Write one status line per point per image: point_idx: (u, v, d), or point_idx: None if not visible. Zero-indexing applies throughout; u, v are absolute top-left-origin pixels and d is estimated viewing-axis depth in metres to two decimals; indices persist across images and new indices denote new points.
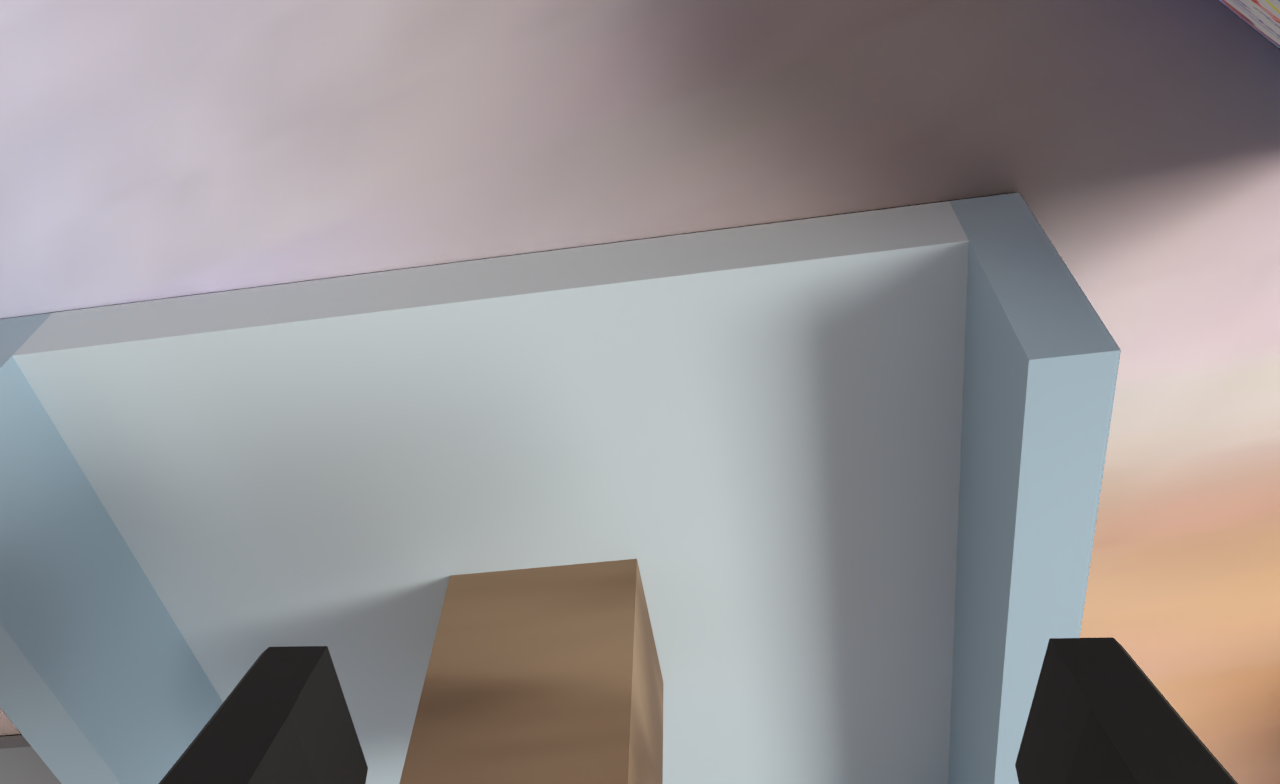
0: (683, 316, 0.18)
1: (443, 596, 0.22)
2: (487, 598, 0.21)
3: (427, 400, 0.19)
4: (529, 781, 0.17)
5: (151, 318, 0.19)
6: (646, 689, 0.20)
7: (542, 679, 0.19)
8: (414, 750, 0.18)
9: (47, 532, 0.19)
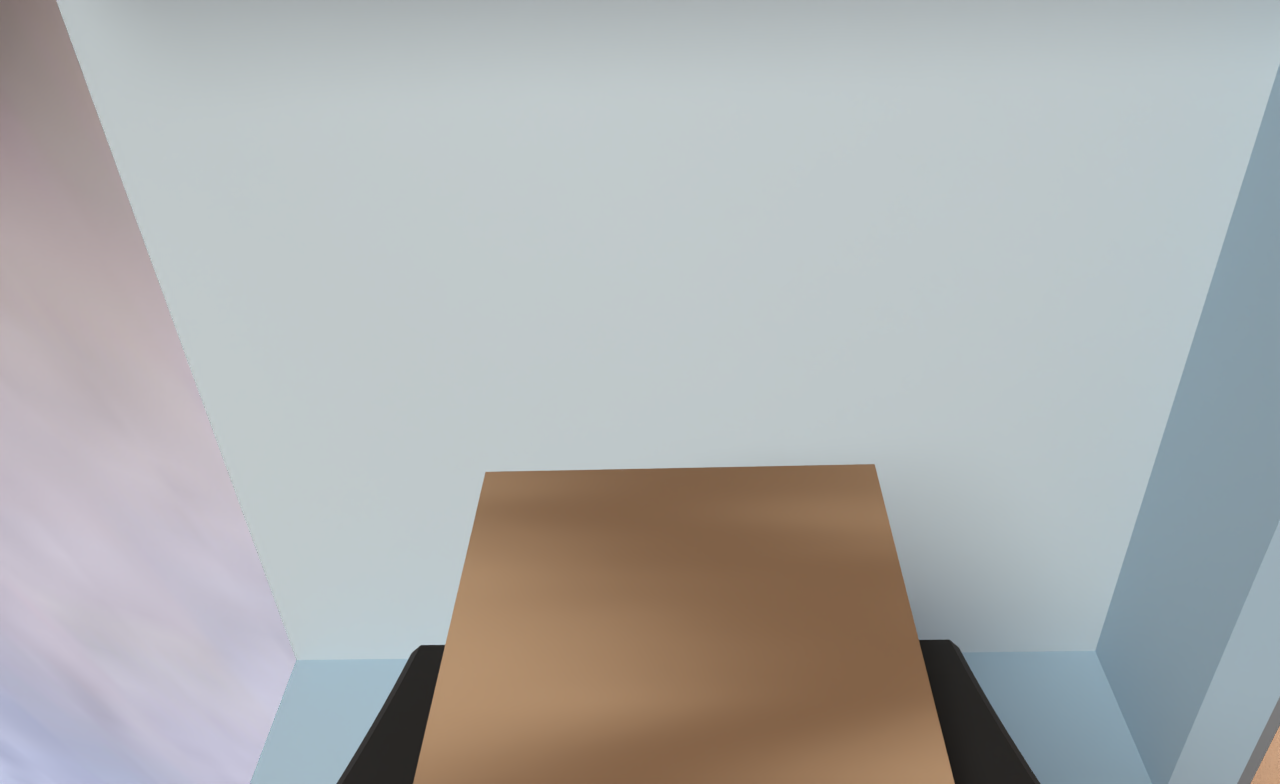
0: (153, 112, 0.15)
1: (602, 426, 0.18)
2: None
3: (308, 383, 0.18)
4: None
5: None
6: (637, 619, 0.09)
7: None
8: None
9: None
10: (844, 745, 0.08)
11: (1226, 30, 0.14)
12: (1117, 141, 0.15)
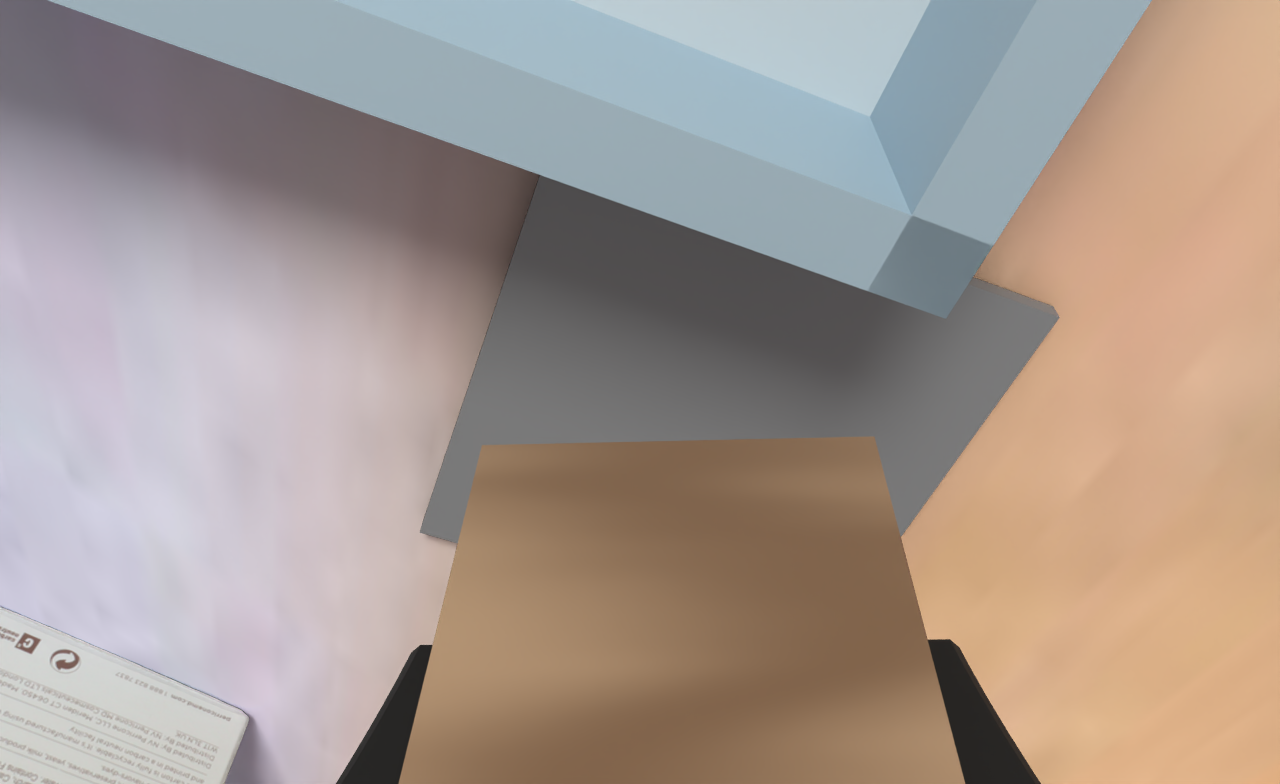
0: None
1: None
2: None
3: None
4: None
5: None
6: (634, 587, 0.09)
7: None
8: None
9: None
10: (843, 709, 0.08)
11: None
12: None
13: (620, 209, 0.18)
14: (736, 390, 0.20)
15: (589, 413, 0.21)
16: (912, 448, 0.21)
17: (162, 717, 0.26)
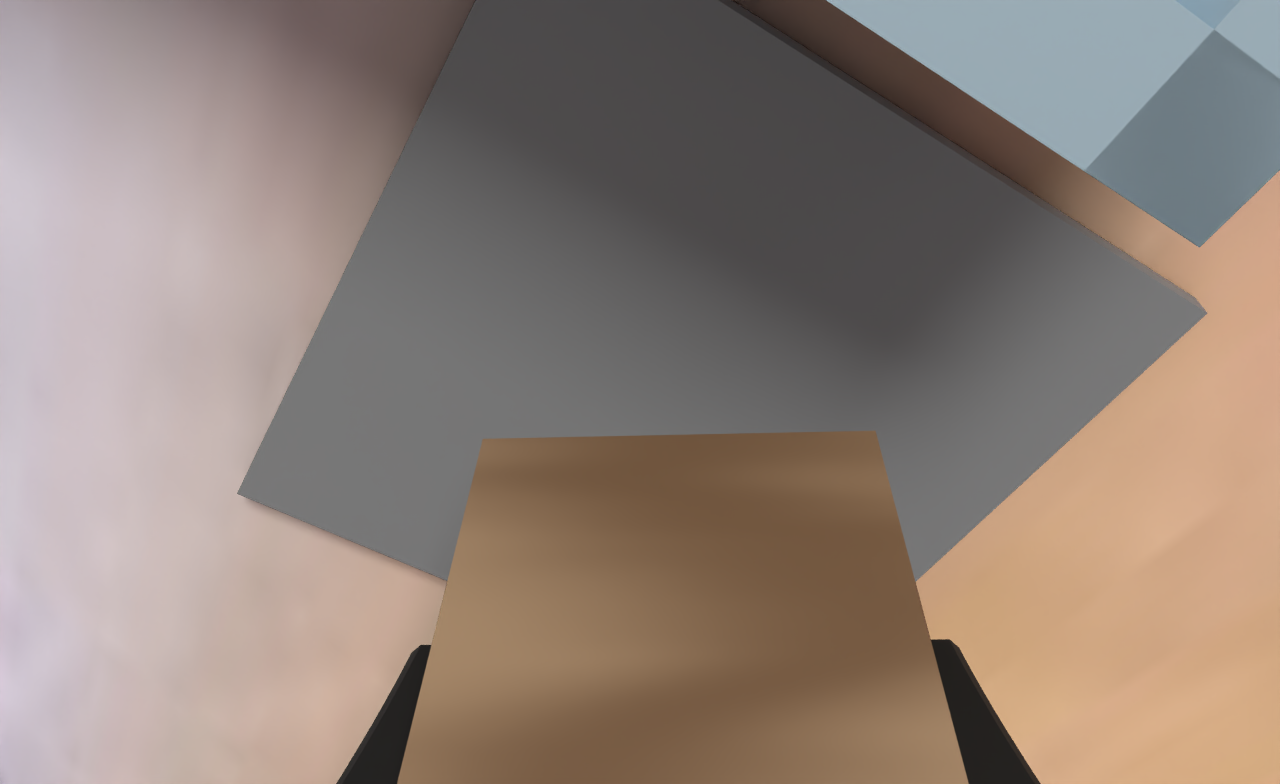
0: None
1: None
2: None
3: None
4: None
5: None
6: (635, 580, 0.09)
7: None
8: None
9: None
10: (845, 701, 0.08)
11: None
12: None
13: (615, 35, 0.12)
14: (732, 350, 0.14)
15: (512, 354, 0.14)
16: (955, 471, 0.15)
17: None
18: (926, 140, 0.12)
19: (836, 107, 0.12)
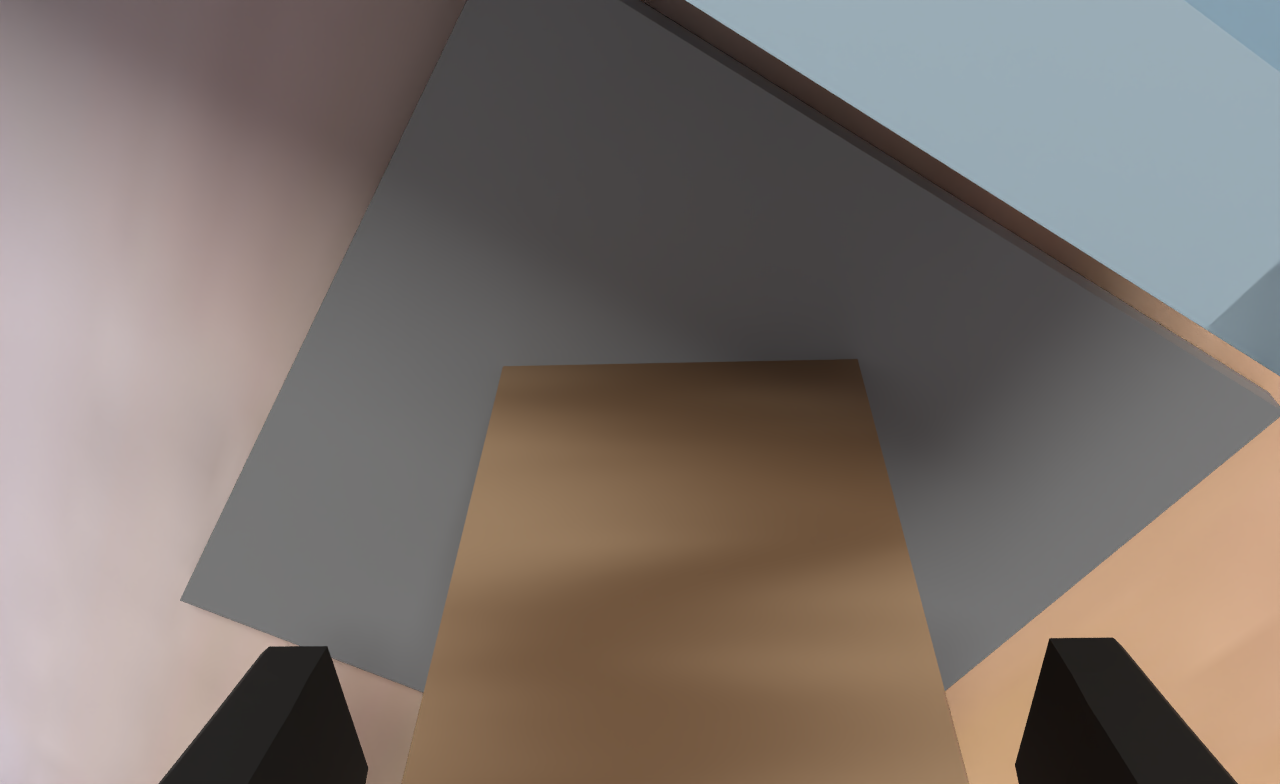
0: None
1: None
2: None
3: None
4: None
5: None
6: (641, 480, 0.10)
7: None
8: None
9: None
10: (826, 574, 0.09)
11: None
12: None
13: (602, 103, 0.10)
14: None
15: None
16: (990, 579, 0.13)
17: None
18: (966, 223, 0.10)
19: (861, 186, 0.10)
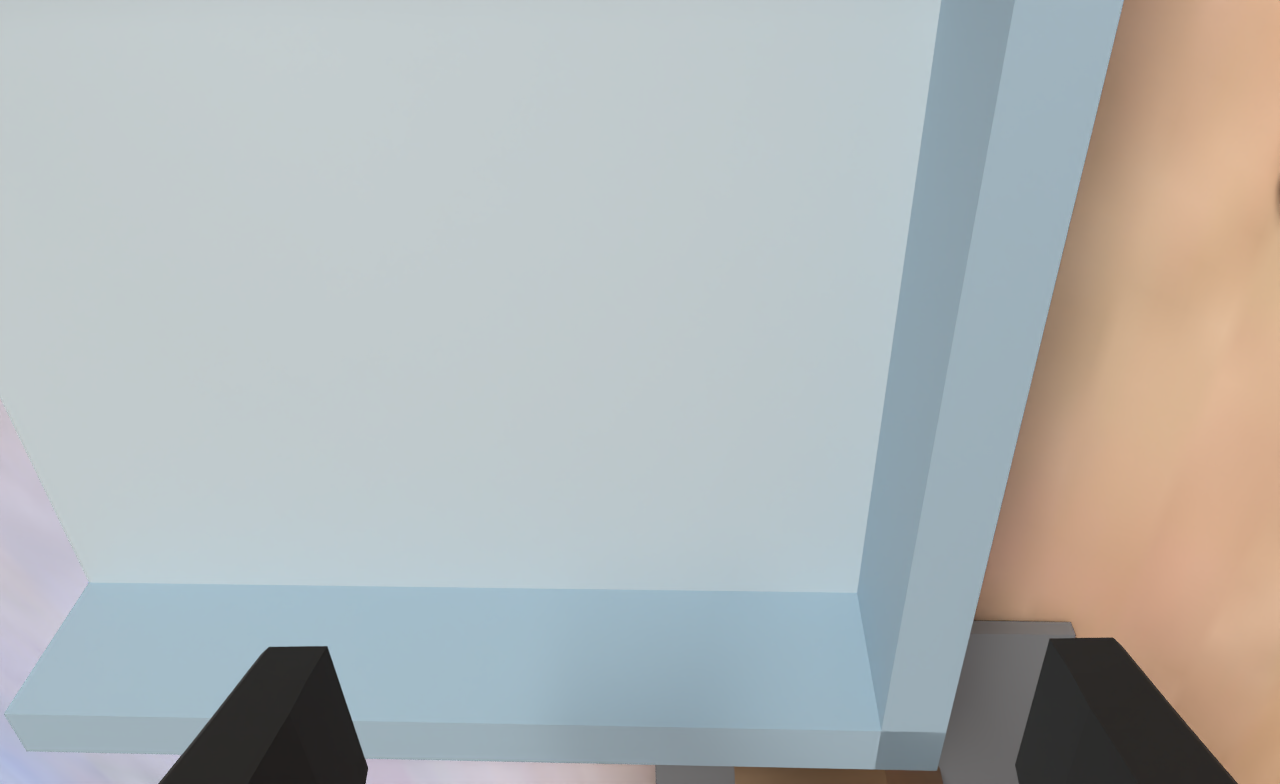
0: None
1: (348, 351, 0.19)
2: None
3: (60, 301, 0.19)
4: None
5: None
6: None
7: None
8: None
9: (189, 639, 0.21)
10: None
11: None
12: (798, 77, 0.16)
13: None
14: None
15: None
16: (1003, 734, 0.26)
17: None
18: None
19: None
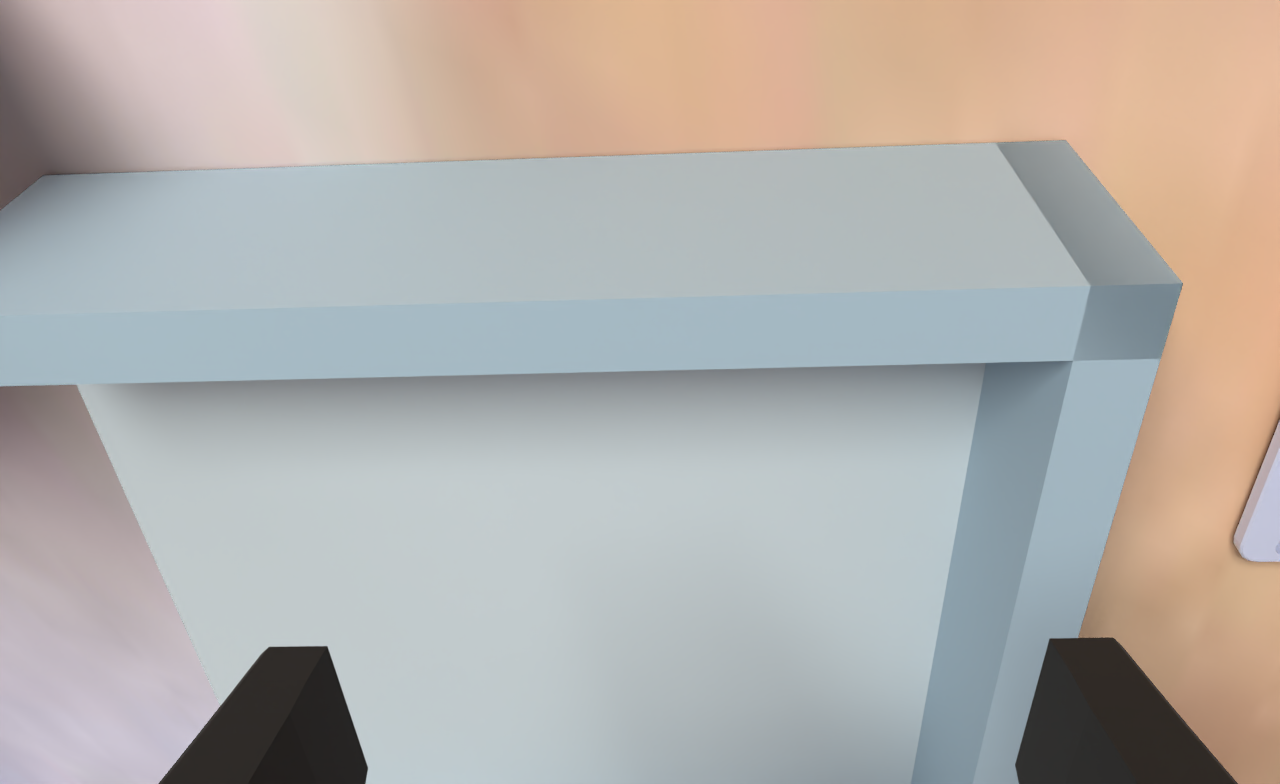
0: (160, 480, 0.21)
1: (502, 672, 0.24)
2: None
3: (277, 643, 0.24)
4: None
5: None
6: None
7: None
8: None
9: None
10: None
11: (926, 443, 0.20)
12: (861, 504, 0.21)
13: None
14: None
15: None
16: None
17: None
18: None
19: None
